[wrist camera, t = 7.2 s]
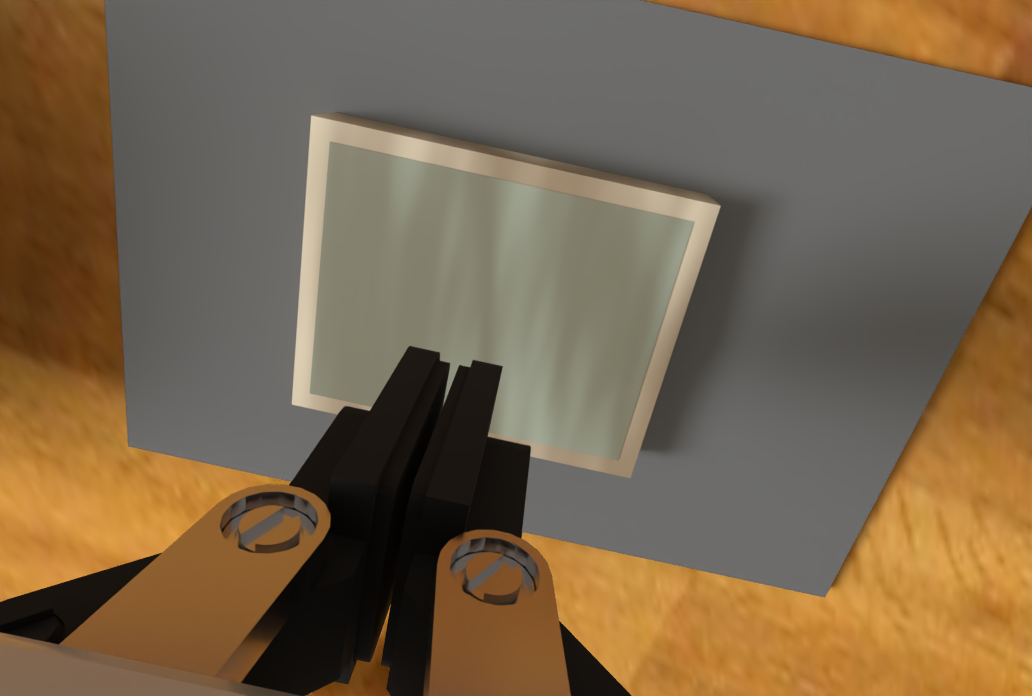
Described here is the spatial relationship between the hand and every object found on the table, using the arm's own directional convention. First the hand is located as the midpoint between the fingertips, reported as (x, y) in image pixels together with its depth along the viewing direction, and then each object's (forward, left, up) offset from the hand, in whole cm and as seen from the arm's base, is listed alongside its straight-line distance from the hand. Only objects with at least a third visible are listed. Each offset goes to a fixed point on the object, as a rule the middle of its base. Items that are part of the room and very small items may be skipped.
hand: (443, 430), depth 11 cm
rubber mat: (-1, 0, -8) cm, 8 cm away
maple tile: (-5, 0, -7) cm, 8 cm away
